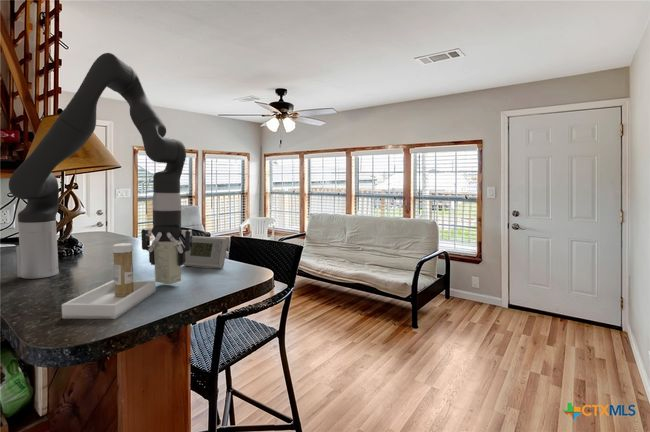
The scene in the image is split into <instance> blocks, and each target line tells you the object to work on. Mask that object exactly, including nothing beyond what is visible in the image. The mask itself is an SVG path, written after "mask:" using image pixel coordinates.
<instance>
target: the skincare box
mask: <svg viewBox="0 0 650 432" xmlns="http://www.w3.org/2000/svg"><path fill="white" fill-rule="evenodd" d="M177 242H180V241H178V240H177ZM178 253H179V251H178V250H177V248H176V247H175V246H174V242H160V241H159V242H158V243H157V245H156V247H155V249H154V263H155V265H154V281H155V283H160V284H166V285H172V284H176V283H179V282H181V281H182V273H181V270H182V269H181V267H182V266H179V265H178Z"/></svg>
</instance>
